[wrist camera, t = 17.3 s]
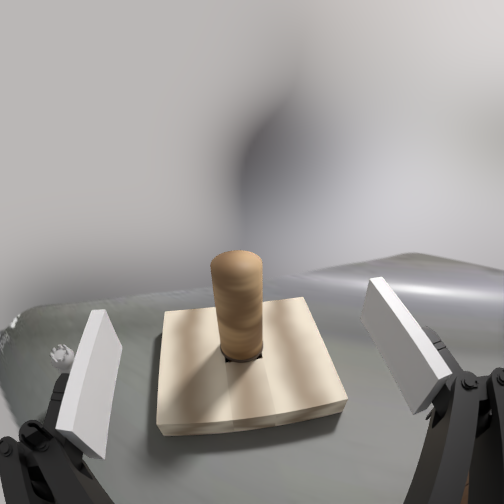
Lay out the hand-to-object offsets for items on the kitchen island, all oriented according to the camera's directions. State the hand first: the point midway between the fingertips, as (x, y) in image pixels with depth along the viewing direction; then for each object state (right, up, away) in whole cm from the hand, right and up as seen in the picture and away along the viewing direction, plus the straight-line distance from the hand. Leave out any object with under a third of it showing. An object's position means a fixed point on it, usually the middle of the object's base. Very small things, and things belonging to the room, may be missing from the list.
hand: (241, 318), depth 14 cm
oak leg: (-1, -11, +22) cm, 25 cm away
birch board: (-1, -11, +21) cm, 24 cm away
